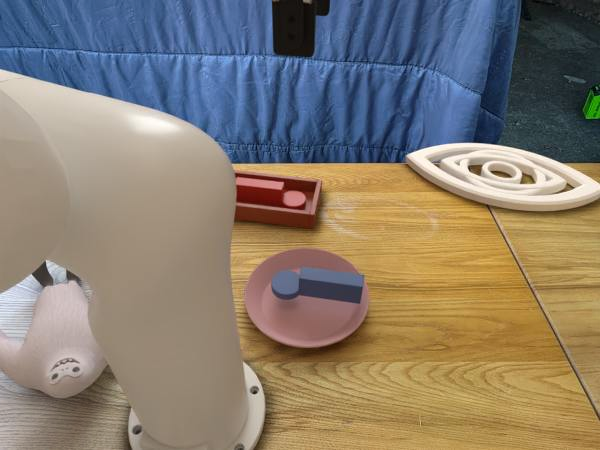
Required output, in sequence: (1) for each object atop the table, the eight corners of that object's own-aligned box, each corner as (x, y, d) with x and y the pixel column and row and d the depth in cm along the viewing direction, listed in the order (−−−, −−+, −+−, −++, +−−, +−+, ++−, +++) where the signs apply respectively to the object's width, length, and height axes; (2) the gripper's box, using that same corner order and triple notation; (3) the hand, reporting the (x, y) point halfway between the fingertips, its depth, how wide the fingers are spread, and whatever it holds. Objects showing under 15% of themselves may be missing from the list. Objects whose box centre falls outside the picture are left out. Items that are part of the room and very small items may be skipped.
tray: (321, 193, 67) (322, 179, 66) (313, 229, 62) (314, 215, 60) (231, 183, 69) (230, 169, 67) (216, 217, 63) (214, 202, 61)
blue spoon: (268, 297, 50) (267, 280, 48) (274, 273, 53) (274, 256, 51) (359, 310, 49) (362, 293, 47) (361, 285, 52) (364, 268, 50)
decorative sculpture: (405, 143, 78) (407, 136, 77) (581, 158, 75) (586, 150, 74) (409, 197, 67) (411, 189, 66) (615, 217, 64) (621, 208, 63)
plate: (259, 371, 46) (257, 361, 44) (236, 270, 56) (234, 259, 55) (387, 340, 49) (390, 329, 47) (343, 249, 59) (344, 238, 57)
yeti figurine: (125, 213, 56) (193, 318, 43) (135, 253, 60) (200, 360, 47) (-65, 273, 46) (-50, 429, 34) (-38, 315, 50) (-15, 469, 38)
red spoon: (307, 197, 66) (308, 181, 64) (303, 213, 63) (304, 196, 61) (240, 189, 67) (238, 173, 65) (233, 204, 64) (231, 188, 62)
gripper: (277, -245, 34) (281, -1, 45) (202, -280, 21) (234, 71, 33) (377, -245, 33) (355, 4, 44) (361, -281, 20) (336, 79, 32)
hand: (303, 32), depth 39 cm, fingers open, 9 cm apart
